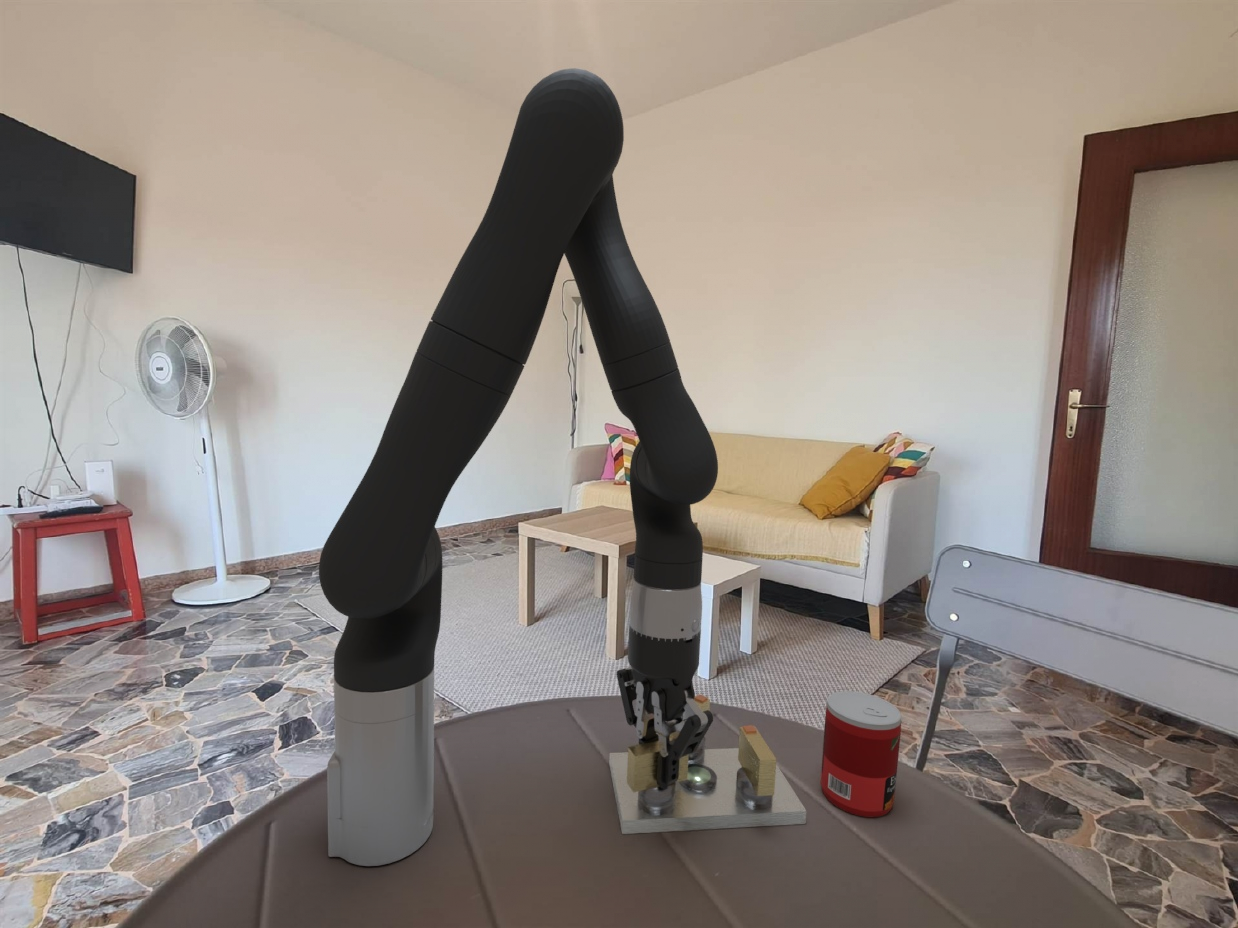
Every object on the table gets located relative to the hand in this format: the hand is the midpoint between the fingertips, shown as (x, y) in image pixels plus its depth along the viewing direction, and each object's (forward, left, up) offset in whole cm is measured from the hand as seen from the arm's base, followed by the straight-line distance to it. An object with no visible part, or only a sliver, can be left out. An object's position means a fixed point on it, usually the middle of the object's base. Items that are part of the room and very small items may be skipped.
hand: (657, 776), depth 65 cm
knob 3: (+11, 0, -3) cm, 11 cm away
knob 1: (0, 0, -3) cm, 3 cm away
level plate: (+6, +3, -5) cm, 8 cm away
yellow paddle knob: (+6, +8, -3) cm, 10 cm away
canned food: (+24, +1, -5) cm, 25 cm away
